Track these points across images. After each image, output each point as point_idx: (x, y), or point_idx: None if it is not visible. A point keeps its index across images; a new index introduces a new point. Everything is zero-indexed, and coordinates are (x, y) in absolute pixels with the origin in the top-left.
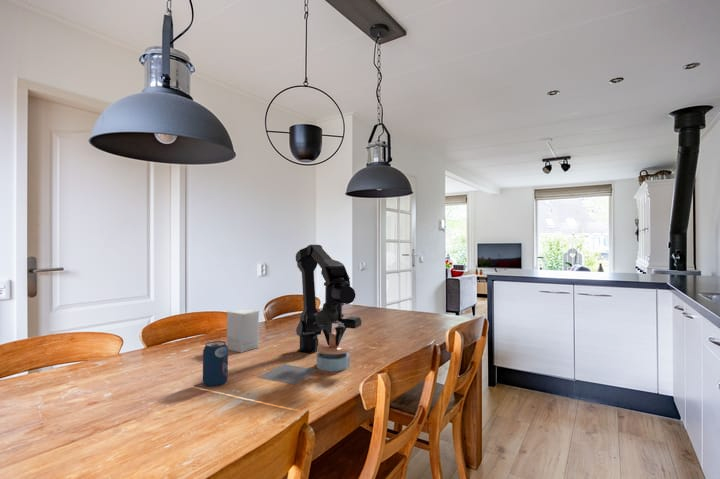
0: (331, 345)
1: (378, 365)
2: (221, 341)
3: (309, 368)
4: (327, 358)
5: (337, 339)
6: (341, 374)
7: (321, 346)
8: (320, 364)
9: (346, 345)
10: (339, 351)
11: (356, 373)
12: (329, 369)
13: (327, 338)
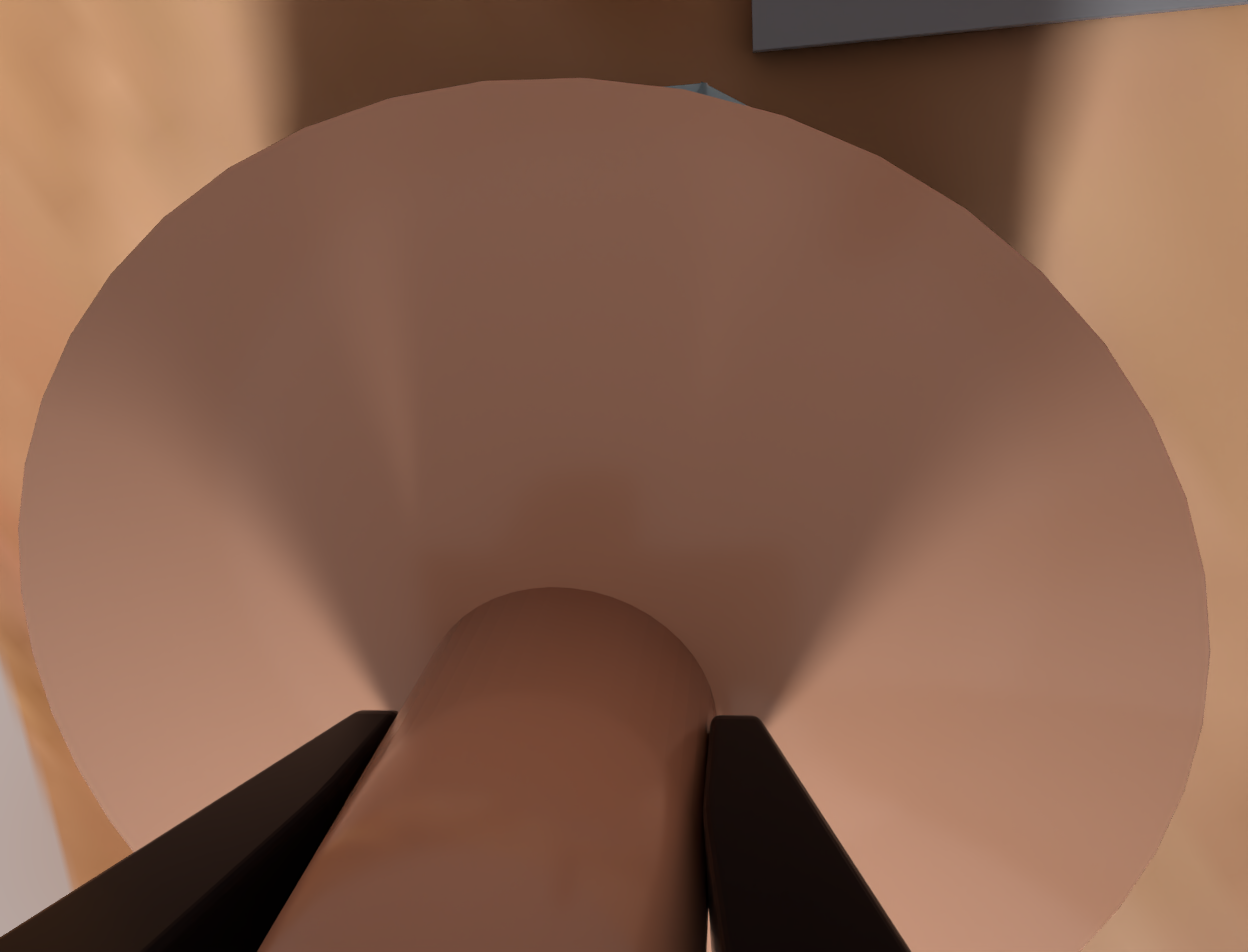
0: (512, 638)
1: (69, 817)
2: None
3: (1040, 7)
4: None
5: (118, 887)
6: (225, 141)
7: (1009, 602)
8: None
9: None
10: (56, 375)
11: (57, 342)
12: None
13: (746, 906)
